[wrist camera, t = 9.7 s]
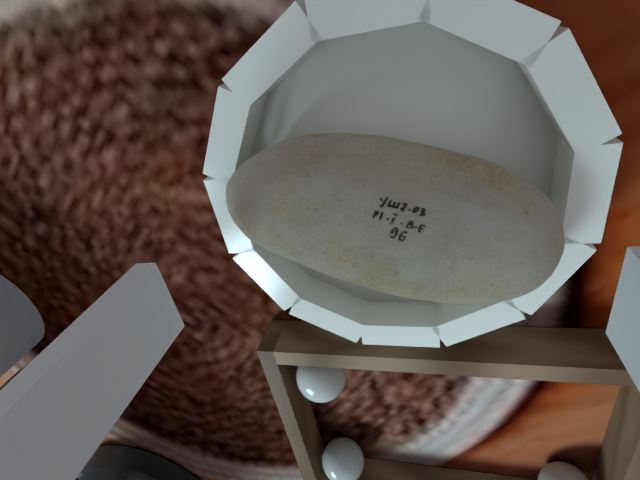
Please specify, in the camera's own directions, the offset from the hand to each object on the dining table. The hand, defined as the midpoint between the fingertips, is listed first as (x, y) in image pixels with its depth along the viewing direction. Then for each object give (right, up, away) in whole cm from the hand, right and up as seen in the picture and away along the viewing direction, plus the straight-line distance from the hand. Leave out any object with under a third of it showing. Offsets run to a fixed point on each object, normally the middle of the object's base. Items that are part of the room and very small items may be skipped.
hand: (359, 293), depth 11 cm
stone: (+2, +4, +5) cm, 7 cm away
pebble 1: (-1, -6, +13) cm, 14 cm away
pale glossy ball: (+1, -14, +17) cm, 22 cm away
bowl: (+2, +4, +6) cm, 7 cm away
